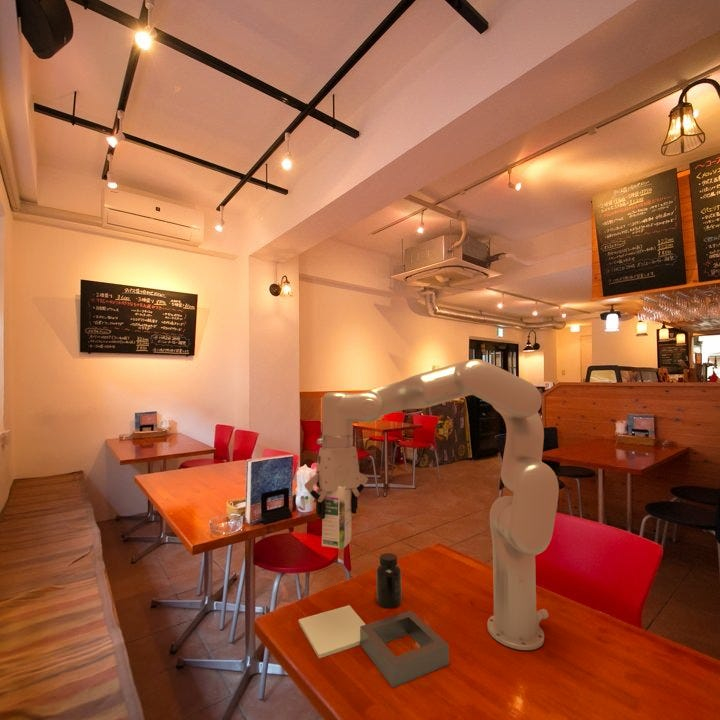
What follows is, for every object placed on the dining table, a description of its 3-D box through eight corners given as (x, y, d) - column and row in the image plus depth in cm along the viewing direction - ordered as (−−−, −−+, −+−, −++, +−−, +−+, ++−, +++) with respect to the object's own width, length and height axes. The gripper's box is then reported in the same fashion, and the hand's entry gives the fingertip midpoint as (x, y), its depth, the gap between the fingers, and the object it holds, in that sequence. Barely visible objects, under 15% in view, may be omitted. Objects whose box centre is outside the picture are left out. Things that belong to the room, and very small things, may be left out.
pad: (349, 608, 102) (349, 605, 102) (375, 639, 89) (375, 635, 89) (298, 622, 95) (298, 619, 95) (318, 658, 83) (318, 654, 83)
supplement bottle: (395, 593, 109) (395, 549, 110) (405, 606, 103) (405, 560, 104) (372, 597, 107) (372, 552, 108) (381, 611, 101) (381, 563, 101)
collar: (410, 627, 94) (410, 610, 94) (448, 664, 81) (448, 644, 82) (360, 644, 87) (360, 626, 88) (392, 687, 75) (392, 666, 75)
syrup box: (321, 546, 92) (321, 484, 93) (331, 537, 97) (331, 479, 98) (343, 550, 90) (343, 486, 91) (352, 540, 95) (352, 480, 96)
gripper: (309, 446, 88) (308, 525, 87) (375, 441, 96) (375, 514, 95) (299, 442, 95) (298, 515, 93) (361, 438, 103) (361, 505, 101)
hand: (337, 514), depth 94 cm, fingers closed on syrup box, 7 cm apart
